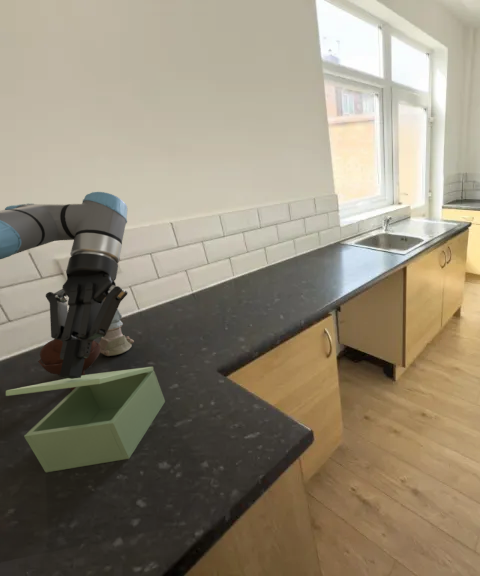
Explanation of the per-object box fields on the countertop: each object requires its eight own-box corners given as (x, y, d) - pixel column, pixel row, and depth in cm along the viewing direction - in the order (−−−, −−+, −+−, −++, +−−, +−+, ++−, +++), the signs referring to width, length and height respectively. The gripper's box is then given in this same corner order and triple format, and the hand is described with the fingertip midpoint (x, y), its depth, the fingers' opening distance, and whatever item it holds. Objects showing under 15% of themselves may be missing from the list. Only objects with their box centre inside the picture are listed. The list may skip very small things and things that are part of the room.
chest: (129, 458, 60) (113, 422, 56) (45, 472, 57) (23, 436, 54) (165, 401, 74) (154, 370, 71) (99, 410, 72) (84, 379, 68)
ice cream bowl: (117, 366, 87) (98, 318, 82) (101, 392, 78) (77, 339, 72) (69, 376, 84) (45, 326, 78) (45, 404, 74) (16, 349, 69)
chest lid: (99, 384, 54) (99, 378, 54) (5, 396, 52) (5, 390, 52) (153, 370, 70) (153, 366, 71) (83, 379, 68) (83, 375, 68)
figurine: (142, 344, 98) (120, 283, 91) (114, 359, 91) (88, 295, 83) (121, 340, 100) (98, 281, 93) (92, 355, 93) (64, 292, 86)
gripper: (140, 266, 70) (124, 374, 61) (73, 271, 68) (45, 385, 59) (118, 248, 63) (97, 368, 54) (42, 254, 61) (6, 379, 52)
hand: (70, 377), depth 56 cm, fingers closed
